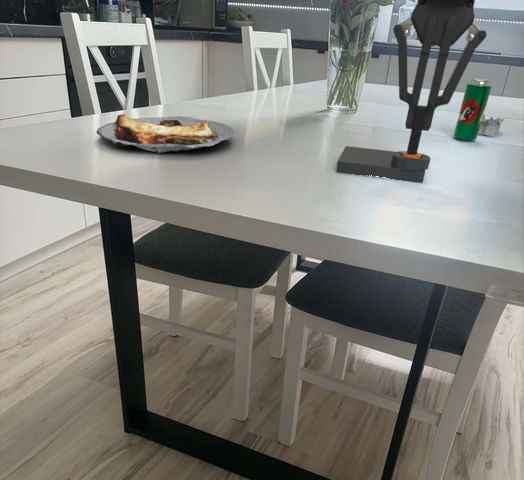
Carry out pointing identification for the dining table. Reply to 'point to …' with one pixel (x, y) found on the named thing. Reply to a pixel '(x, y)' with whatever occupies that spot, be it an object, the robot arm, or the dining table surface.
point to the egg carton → (490, 126)
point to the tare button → (411, 155)
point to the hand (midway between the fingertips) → (411, 151)
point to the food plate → (165, 133)
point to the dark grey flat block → (382, 164)
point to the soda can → (472, 109)
